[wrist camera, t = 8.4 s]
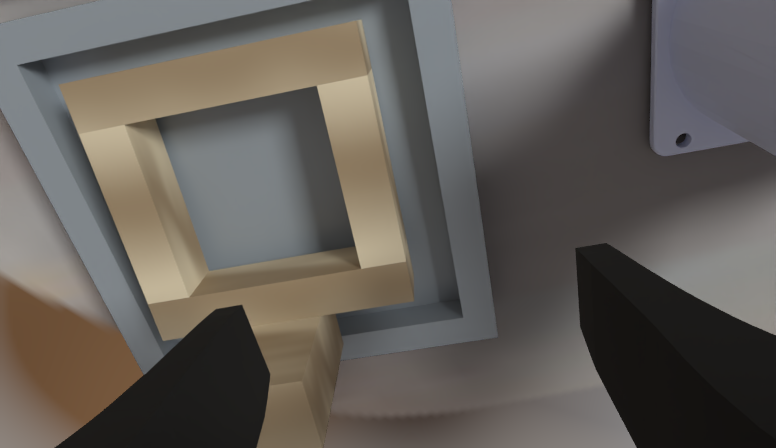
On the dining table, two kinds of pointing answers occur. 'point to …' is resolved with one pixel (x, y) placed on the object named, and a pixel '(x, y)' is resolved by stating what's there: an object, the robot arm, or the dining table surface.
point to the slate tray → (266, 155)
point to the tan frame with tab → (265, 279)
